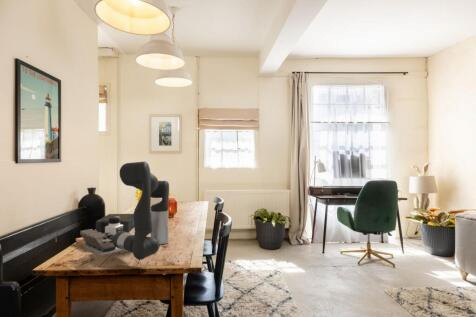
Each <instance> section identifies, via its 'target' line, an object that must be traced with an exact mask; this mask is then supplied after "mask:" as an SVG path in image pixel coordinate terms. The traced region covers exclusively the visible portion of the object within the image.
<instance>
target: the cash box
mask: <svg viewBox="0 0 476 317" xmlns="http://www.w3.org/2000/svg"><path fill="white" fill-rule="evenodd" d="M133 214H134V213H109V214H107V215H105V216H103V217H102V218H100V219H98V220H96V221H95V231H97V232H101V233H102V234H105V227H106V226H109V218H110V217H120V225H123V231H124V232H127V233H130V232H131V231H132V230H133V229H134V220H133Z"/></svg>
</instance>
